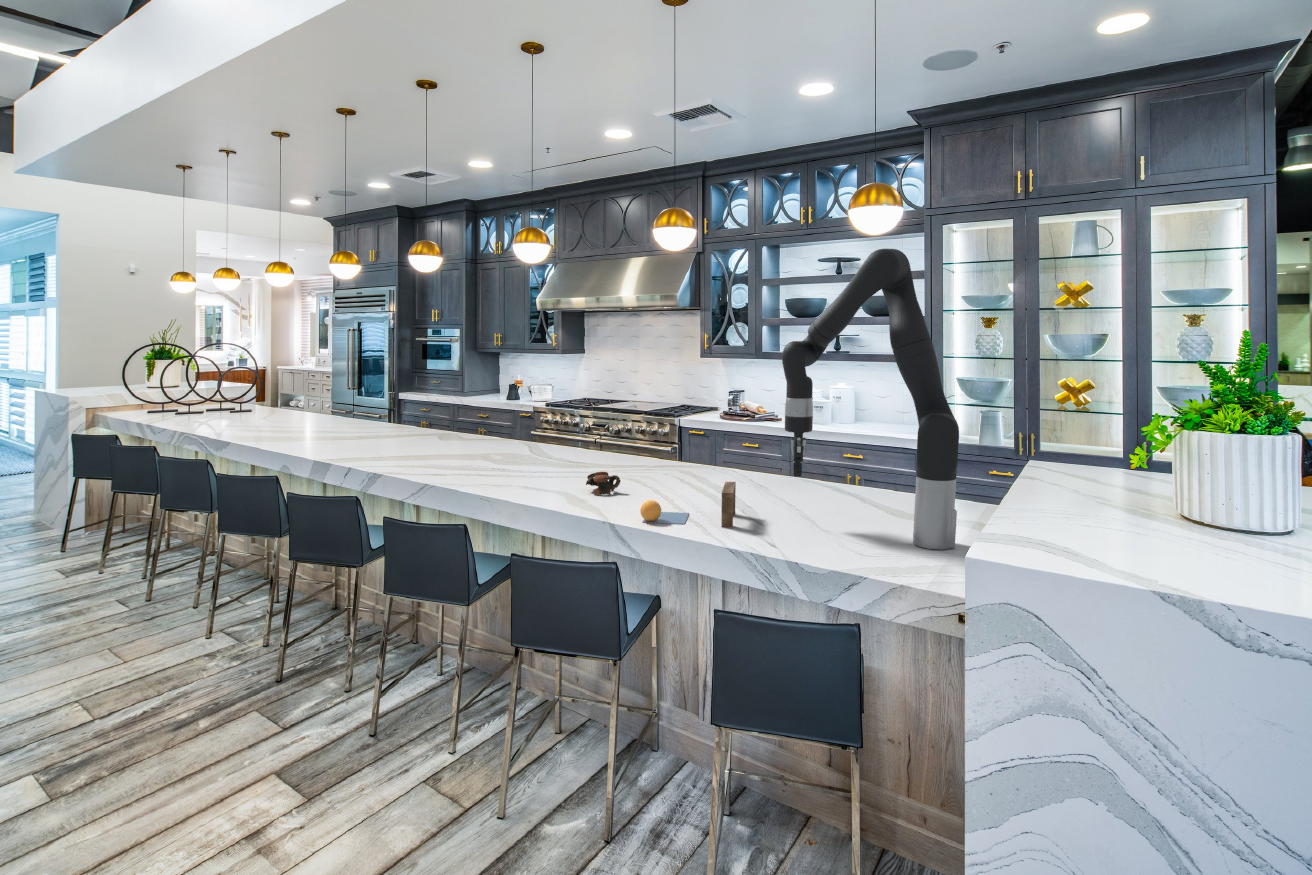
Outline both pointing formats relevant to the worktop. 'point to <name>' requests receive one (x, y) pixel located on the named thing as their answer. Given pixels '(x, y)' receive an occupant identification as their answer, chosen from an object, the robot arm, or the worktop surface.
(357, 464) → the worktop surface
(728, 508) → the bridge
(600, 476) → the pottery mug
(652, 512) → the ball
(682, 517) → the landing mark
